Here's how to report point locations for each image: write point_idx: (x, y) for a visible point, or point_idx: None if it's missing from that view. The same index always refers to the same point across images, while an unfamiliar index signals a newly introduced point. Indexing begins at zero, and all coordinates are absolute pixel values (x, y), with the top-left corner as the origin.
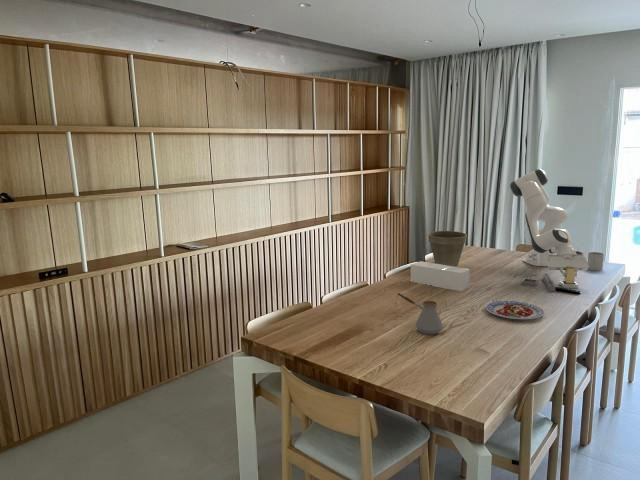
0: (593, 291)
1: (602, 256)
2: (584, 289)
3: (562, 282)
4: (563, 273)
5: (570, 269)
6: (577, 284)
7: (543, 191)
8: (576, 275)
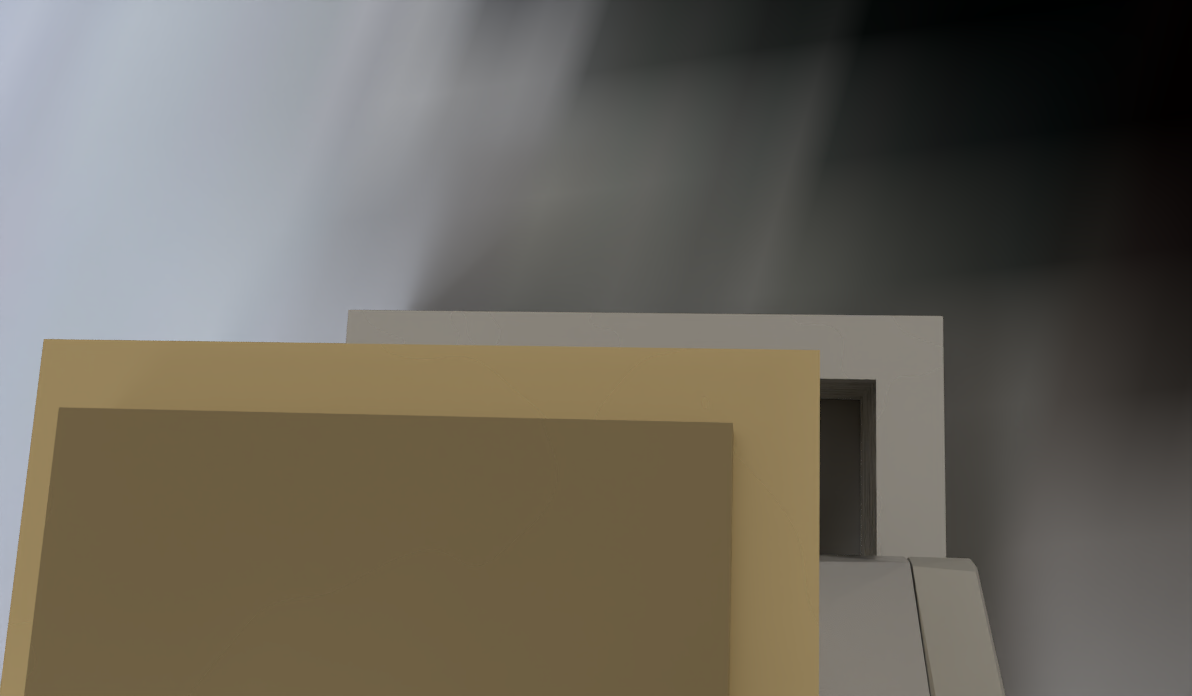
0: (63, 30)
1: None
2: (240, 222)
3: None
4: (987, 643)
5: (503, 367)
6: None
7: None
8: None
